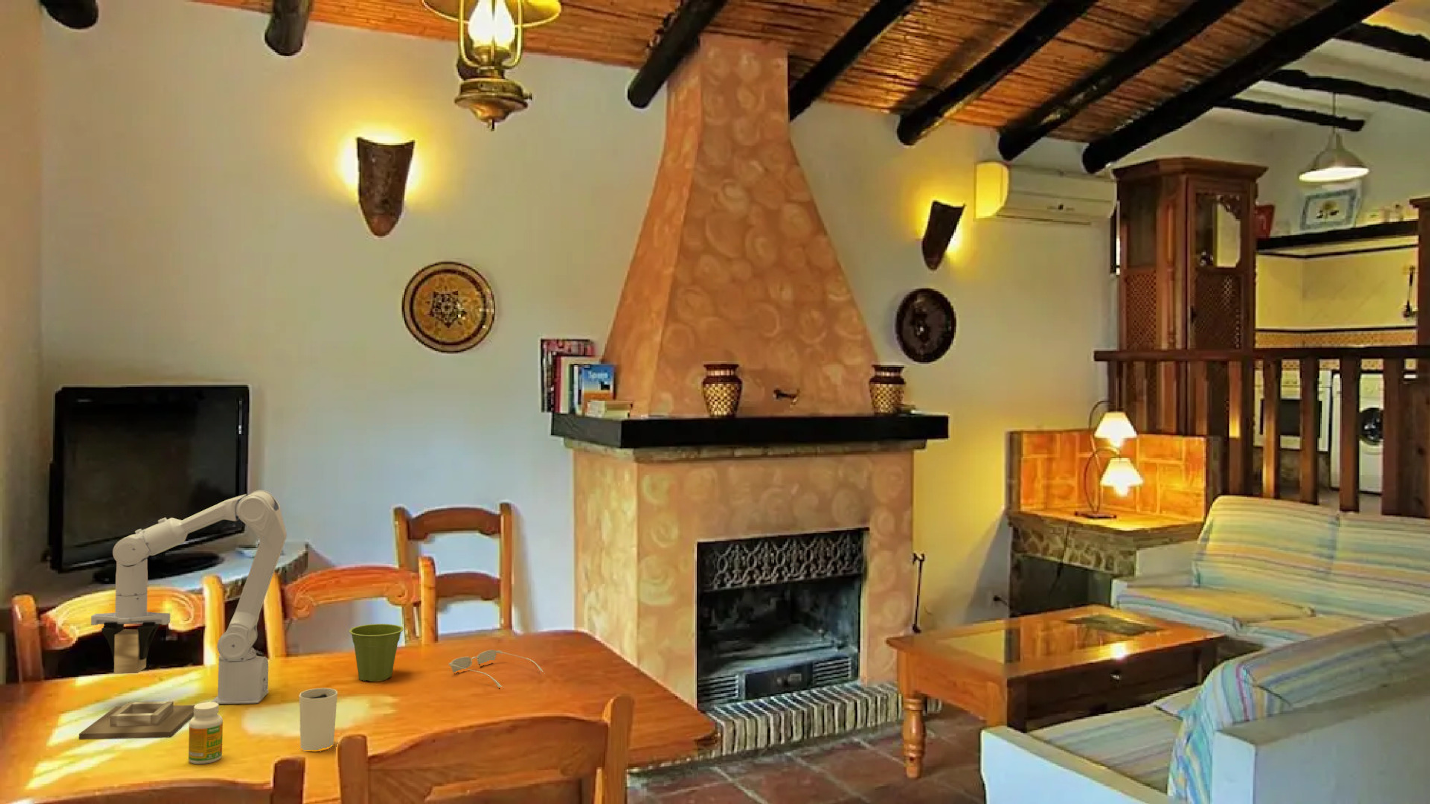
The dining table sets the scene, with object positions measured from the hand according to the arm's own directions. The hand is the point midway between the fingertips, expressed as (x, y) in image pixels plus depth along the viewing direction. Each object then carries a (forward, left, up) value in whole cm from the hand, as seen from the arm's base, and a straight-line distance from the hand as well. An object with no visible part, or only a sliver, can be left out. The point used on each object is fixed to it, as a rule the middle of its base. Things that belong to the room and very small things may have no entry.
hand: (130, 658), depth 209 cm
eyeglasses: (-74, -16, -10) cm, 77 cm away
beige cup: (-43, +28, -10) cm, 52 cm away
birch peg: (0, 0, -2) cm, 2 cm away
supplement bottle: (-25, +33, -10) cm, 43 cm away
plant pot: (-46, -16, -10) cm, 50 cm away
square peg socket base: (-7, +13, -9) cm, 18 cm away
